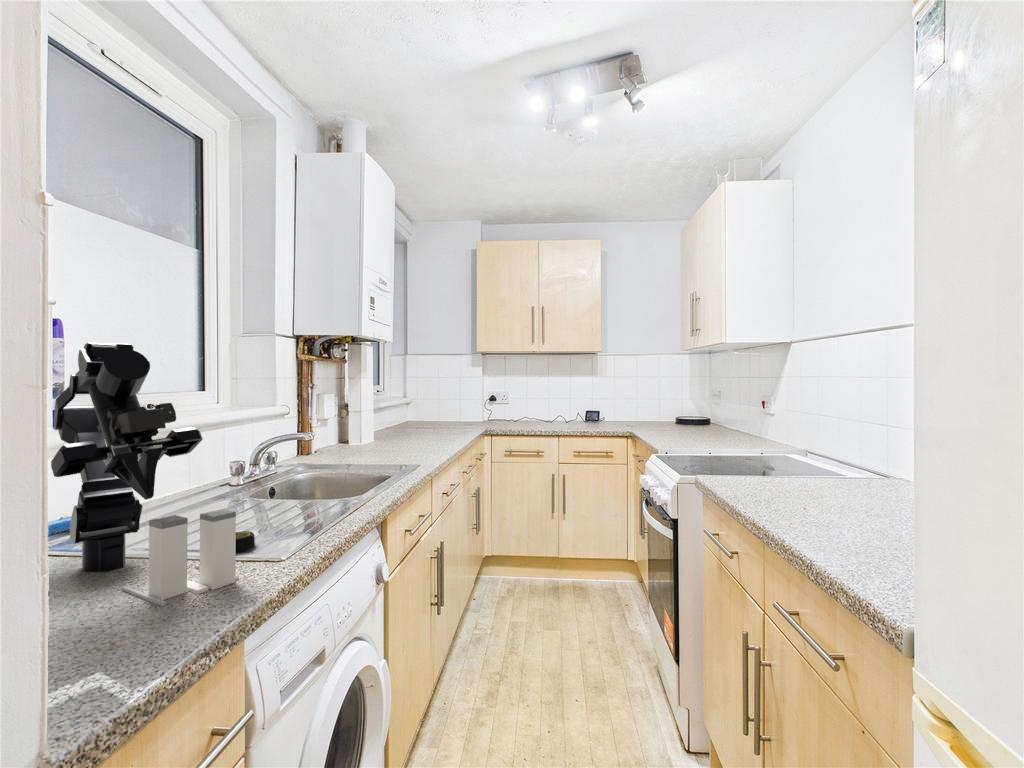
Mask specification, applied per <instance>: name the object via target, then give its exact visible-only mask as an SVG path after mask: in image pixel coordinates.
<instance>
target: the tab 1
mask: <svg viewBox="0 0 1024 768" xmlns="http://www.w3.org/2000/svg"><path fill="white" fill-rule="evenodd" d="M187 580H188V517H184V516H180V515H177V514H176V515H175V514H174V515H170V516H164V517H160V518H155V519H149V520H148V595H150V596H153V597H155V598H158V599H160V600H163V601H165V600H167V599H170V598H173V597H176V596H179V595H182V594H185V593H188V591H187Z"/></svg>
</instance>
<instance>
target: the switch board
mask: <svg viewBox="0 0 1024 768" xmlns="http://www.w3.org/2000/svg"><path fill="white" fill-rule="evenodd" d="M194 568H195V569H196V570H199V571H200V564H196V565H194ZM239 579H240V577H239V576H238V575H237V576H236V575H235V582H237V581H239ZM121 591H123V592H126V593H128V594H131V595H133V596H136V597H138V598H139V599H140V598H141V599H143V600H145V601H148V602H150V603H153V604H155V605H156V606H157V605H158V606H161V607H164V606H167V601H165V600H160V599H158V598H155V597H153V596H150V595H149V594H148V593H144V592H142V591H139V590H138V589H134V588H132V587H130V586H127V585H125V586H121ZM208 591H209V588H208V586H205V585H202V584H200V582H196V581H193V580H191V579H187V592H191V593H192V594H195V595H199V594H202V593H205V592H208Z"/></svg>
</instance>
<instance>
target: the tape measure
mask: <svg viewBox="0 0 1024 768" xmlns="http://www.w3.org/2000/svg"><path fill="white" fill-rule="evenodd" d="M255 544H256V539H255V534H254V533H253V532H252V531H249V530H243V531H236V554H240V553H244V552H247V551H250V550H252V549H253V548H255Z"/></svg>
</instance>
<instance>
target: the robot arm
mask: <svg viewBox="0 0 1024 768" xmlns="http://www.w3.org/2000/svg"><path fill="white" fill-rule="evenodd" d="M77 357H78V358H77V363H78V365H77V366H78V371H77V372H75V374H70V377H69V382H68V383H69V385H68V387H67V388H66V389H65V390H64V391H62V392H61V393H60V394H59V395H58V396H57V397H56V399H55V402H54V411H53V412H54V413H53V429H54V430H55V431H57V430H58V435H59V437H60V440H61V441H63V442H65V443H66V444H62V446H61V447H60V448H59V449H58V451H57V452H56V454H55V455H54V457H53V458H52V460H51V461H50V465H51V470H52V473H53V477H55V478H61V477H66V476H71V475H77V474H79V475H80V479H81V483H82V484H81V490H80V491H79V492H78V497H77V505H73V509H72V513H71V517H70V523H69V538H70V540H71V541H72V542H73V543H74V544H79V543H81V545H82V550H81V551H82V553H81V555H82V556H81V560H82V561H81V564H82V566H81V567H82V568H81V569H82V570H81V571H82V572H85V573H108V572H109V573H110V572H112V571H116V570H120V569H122V568H125V564H126V534H135V533H138V531H139V530H140V520H141V515H142V511H143V507H144V506H143V504H141V502H140V500H139V497H138V496H137V497H135V495H134V491H135V492H136V493H137V494H138V495H140V497H142V498H143V499H144V500H149V499H153V497H154V495H155V494H154V493H155V484H156V483H155V481H156V471H157V465H158V462H159V461H160V460H161V459H162V458H163V456H164V455H165V456H167V457H169V458H173V457H178V456H182V455H183V456H184V455H188V454H190V453H192V451H193V450H194V449H195V448H196V447H198V445H199V444H201V442H202V441H203V436H202V433H201V431H200V430H199V429H198V428H196V427H194V426H192V427H191V426H190V427H184V428H175V429H172V430H171V431H170V432H169V433H168V434H167V435H166V436H165V437H162V438H157V439H153V437H156V436H157V435H158V434H159V429H166V428H167V426H166V424H170V423H173V422H176V421H177V414H176V409H175V408H174V406H173V403H172V402H165V403H164V402H163V403H159V404H156V405H155V406H154V408H151V409H147V407H145V406H141V404H140V402H139V400H138V396H137V394H138V393H139V392H140V391H141V388H142V387H143V385H144V382H145V381H146V378H147V376H148V374H149V371H150V370H151V363H150V361H149V360H148V359H147V357H146V356H145V355H143V354H142V353H141V352H138V351H137V350H134V346H133V344H130V343H102V342H87V343H85V344H84V346H83V348H80V349H79V350H78V355H77ZM76 395H89V396H90V400H91V402H92V404H90V405H89V404H87V405H82V404H80V405H78V404H77V405H69V403H71V402H72V401H73V400H74V399H75V398H76Z"/></svg>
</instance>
